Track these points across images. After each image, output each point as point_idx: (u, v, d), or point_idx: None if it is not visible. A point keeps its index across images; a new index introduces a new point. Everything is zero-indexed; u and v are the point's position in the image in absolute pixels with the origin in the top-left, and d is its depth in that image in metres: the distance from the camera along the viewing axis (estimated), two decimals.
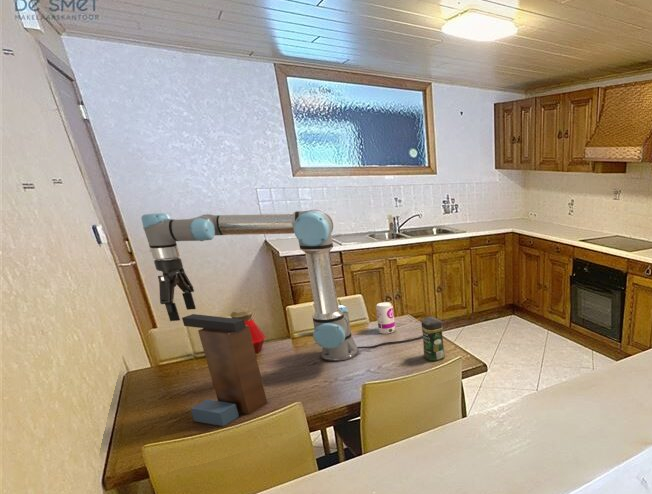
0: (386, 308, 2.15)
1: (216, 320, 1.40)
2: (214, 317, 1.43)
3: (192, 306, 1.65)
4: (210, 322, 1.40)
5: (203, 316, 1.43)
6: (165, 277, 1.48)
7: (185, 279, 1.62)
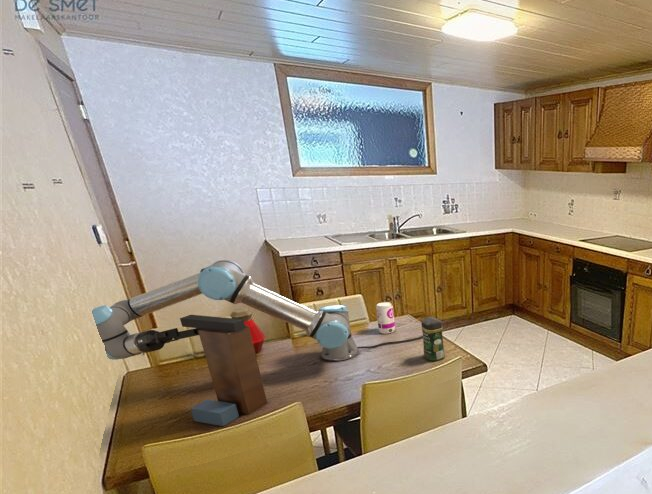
0: (386, 308, 2.15)
1: (215, 320, 1.40)
2: (213, 317, 1.42)
3: None
4: (209, 323, 1.40)
5: (201, 316, 1.43)
6: (137, 339, 1.45)
7: None
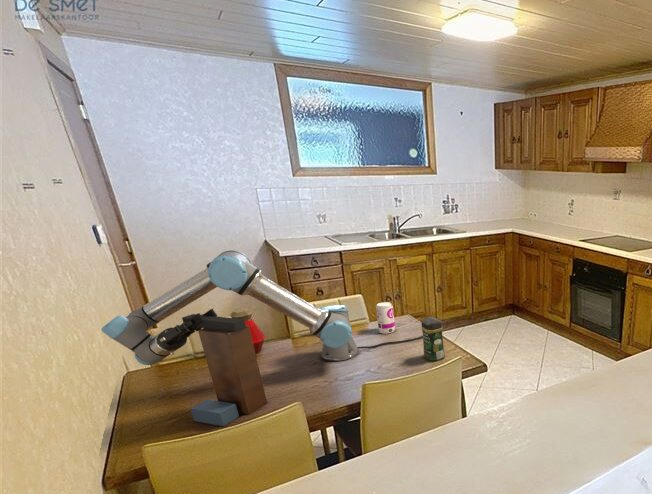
0: (386, 308, 2.15)
1: (216, 320, 1.40)
2: (214, 317, 1.43)
3: (209, 312, 1.44)
4: (211, 322, 1.40)
5: (203, 316, 1.43)
6: (159, 337, 1.41)
7: None
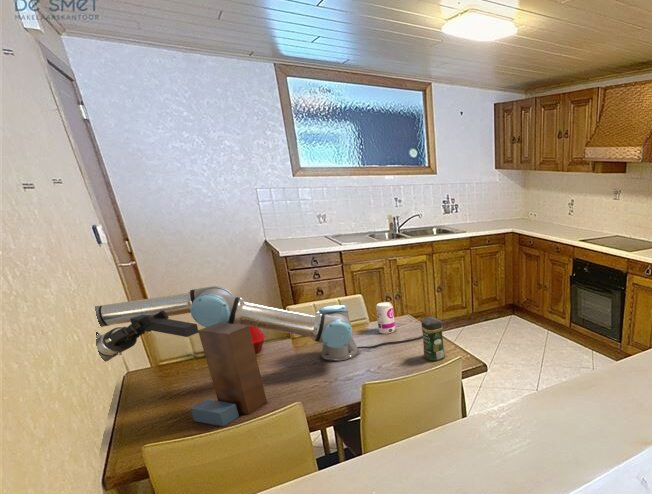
0: (386, 308, 2.15)
1: (166, 323, 1.33)
2: (165, 319, 1.36)
3: (160, 314, 1.37)
4: (160, 326, 1.33)
5: (153, 318, 1.36)
6: (104, 338, 1.34)
7: None
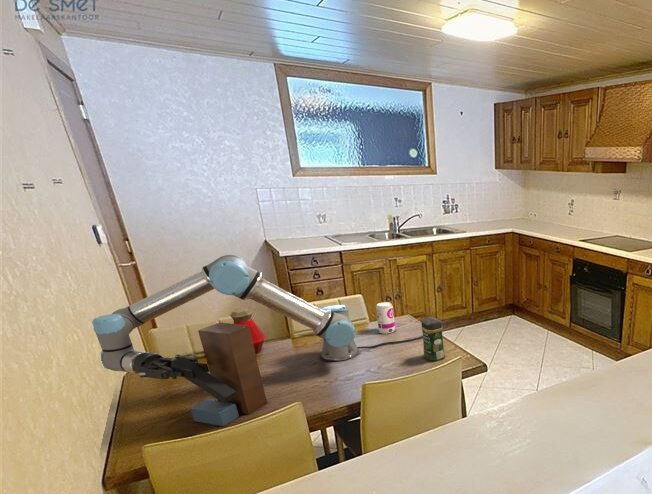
0: (386, 308, 2.15)
1: (208, 383, 1.38)
2: (206, 374, 1.40)
3: (202, 365, 1.41)
4: (201, 383, 1.38)
5: (194, 367, 1.40)
6: (139, 371, 1.36)
7: None
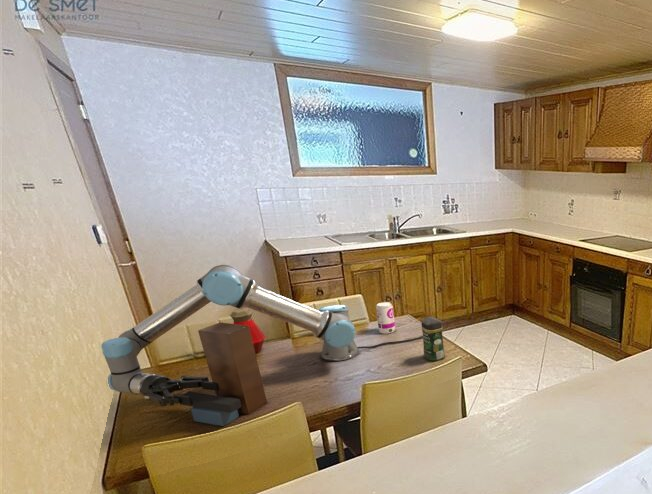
0: (386, 308, 2.15)
1: (212, 400, 1.41)
2: (210, 396, 1.43)
3: (213, 384, 1.46)
4: (206, 403, 1.40)
5: (199, 394, 1.44)
6: (144, 394, 1.39)
7: (191, 379, 1.49)
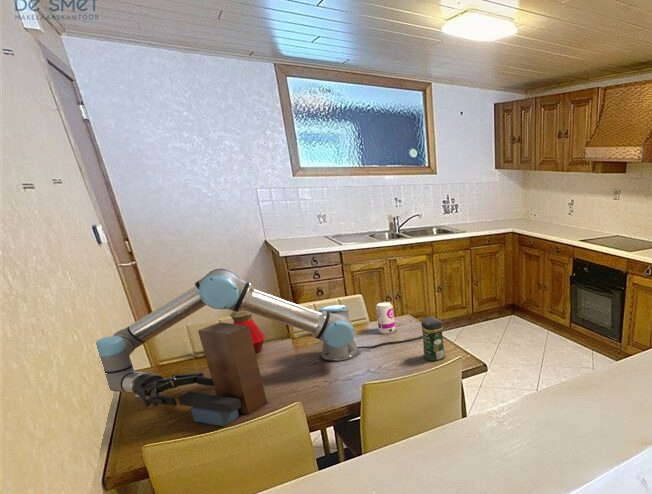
0: (386, 308, 2.15)
1: (212, 400, 1.41)
2: (210, 396, 1.43)
3: (208, 380, 1.49)
4: (206, 403, 1.40)
5: (199, 394, 1.44)
6: (134, 392, 1.39)
7: (185, 376, 1.51)
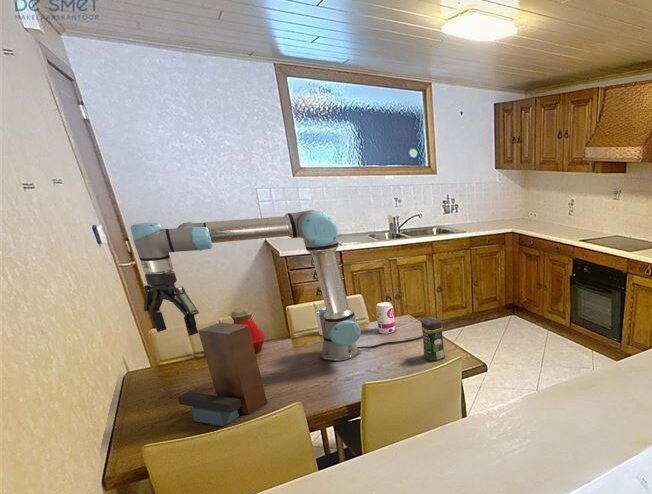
0: (386, 308, 2.15)
1: (212, 400, 1.41)
2: (210, 396, 1.43)
3: (164, 326, 1.48)
4: (206, 403, 1.40)
5: (199, 394, 1.44)
6: (183, 288, 1.40)
7: None
